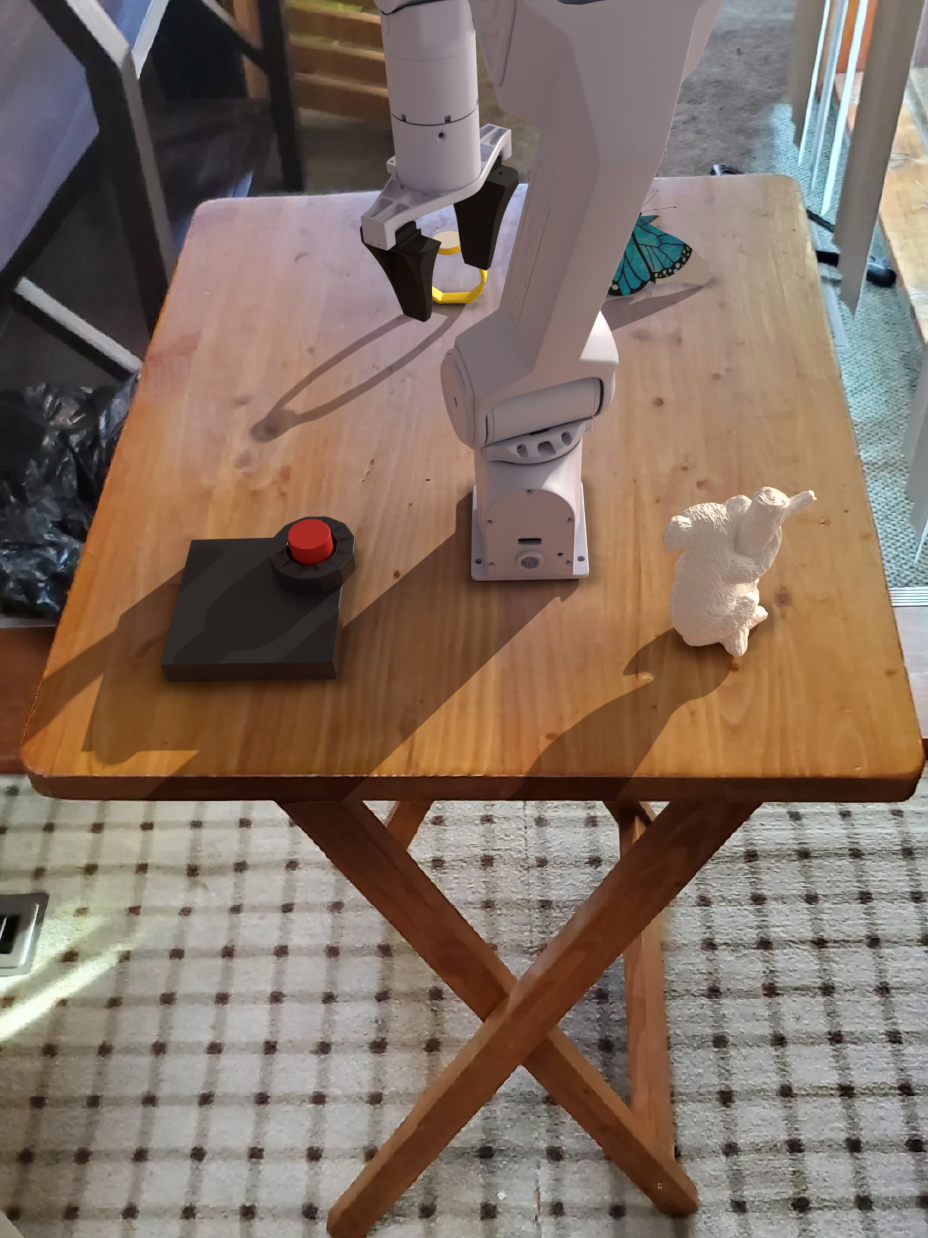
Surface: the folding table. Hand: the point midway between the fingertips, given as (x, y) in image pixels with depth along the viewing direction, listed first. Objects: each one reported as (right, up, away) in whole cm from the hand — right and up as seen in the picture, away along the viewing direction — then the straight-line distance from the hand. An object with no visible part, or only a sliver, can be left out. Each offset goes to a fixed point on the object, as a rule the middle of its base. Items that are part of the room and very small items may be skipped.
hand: (447, 290), depth 80 cm
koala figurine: (+18, -25, -10) cm, 32 cm away
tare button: (-9, -20, -8) cm, 23 cm away
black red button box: (-12, -24, -7) cm, 28 cm away
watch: (0, +4, +16) cm, 16 cm away
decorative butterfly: (+16, +7, +17) cm, 25 cm away
